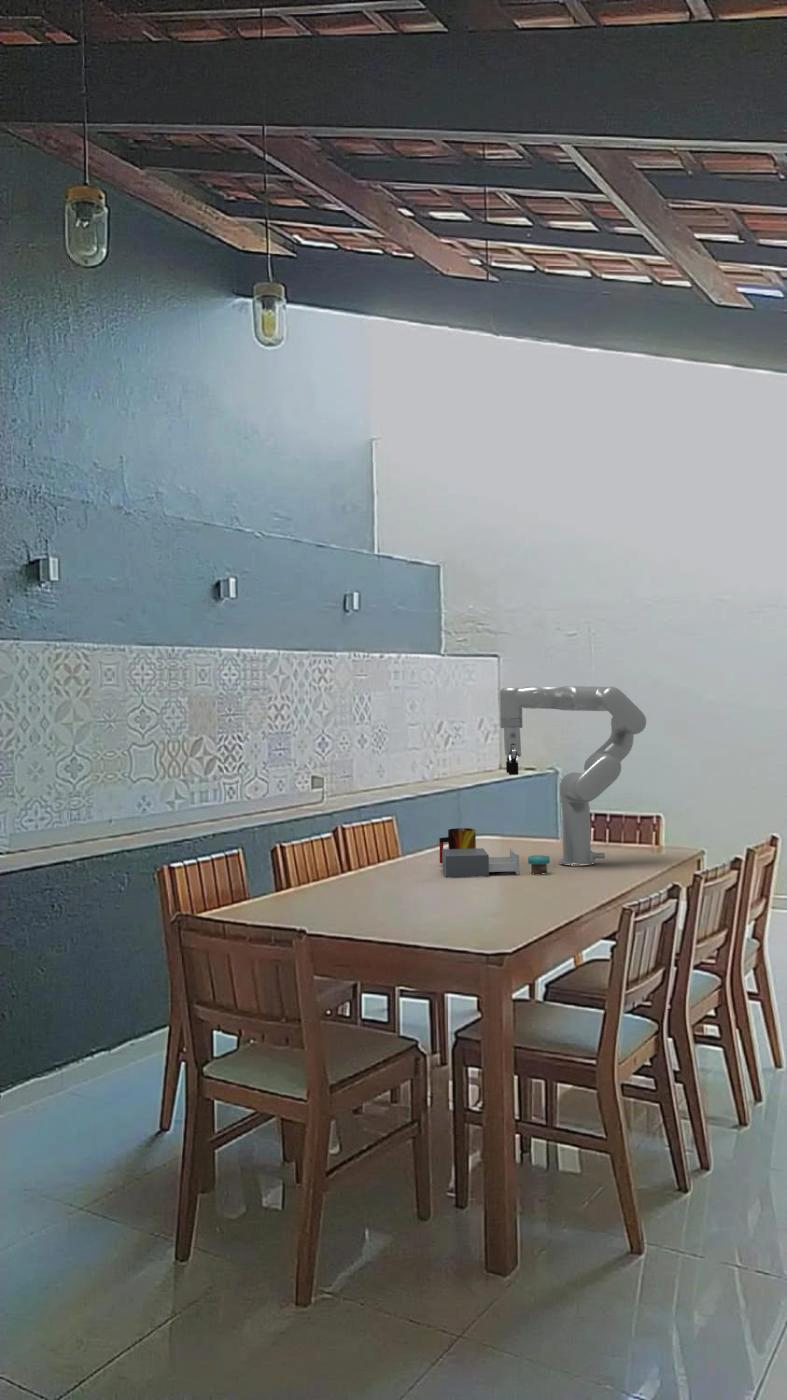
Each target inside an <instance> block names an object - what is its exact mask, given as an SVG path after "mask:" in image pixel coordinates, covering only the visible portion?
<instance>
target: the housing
mask: <svg viewBox="0 0 787 1400" xmlns="http://www.w3.org/2000/svg"><path fill="white" fill-rule="evenodd" d="M489 857H490V856H489V853H488V852H487V851H486V850H485V849H484V848H483V847H482V848H480V847H478V848H477V847H476V849H449V848H446V849H444V848H443V849H442V862H443V863H442V871H444V872H443V873H445V874H444V876H445V875H446V876H445V878H446V877H454V878H467V877H466V876H478V877H479V876H485V877H488V876H489V877H490V872H489ZM478 877H477V878H478ZM479 878H480V877H479Z"/></svg>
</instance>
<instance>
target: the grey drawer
mask: <svg viewBox="0 0 787 1400" xmlns="http://www.w3.org/2000/svg"><path fill="white" fill-rule="evenodd" d="M495 872H496V873H497V872H500V873H501V872H514V874H515V875H520V854H519V853H518V852H517V851H516V850H515V849H514V848H510V849H509V856H489V873H495Z"/></svg>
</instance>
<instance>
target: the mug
mask: <svg viewBox="0 0 787 1400" xmlns="http://www.w3.org/2000/svg"><path fill="white" fill-rule="evenodd" d="M476 836H477V835H476V829H475V828H469V827H466V828H464V827H458V828H450V829H449V828H448V830H447V836H446V837H439V838H438V839H439V864H443V862H442V849H444V843H448V848H447V849H476V848H477V847H476V846H477V845H476V843H477V841H476V840H477V839H476Z"/></svg>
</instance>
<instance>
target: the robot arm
mask: <svg viewBox="0 0 787 1400" xmlns="http://www.w3.org/2000/svg"><path fill="white" fill-rule="evenodd" d="M499 699H500V700H499V711H500V712H499V714H500V715H499V716H500V717H499V718H500V722H499V723H500V724H499V725H500V729H503V739H504V740H503V741H504V744H503V745H504V754H505V756H506V761H505V766H506V767H505V769H506V774H508V775H509V776H513V775H514V776H517V775H519V761H518V757H519V758H520V757H522V746H521V744H522V742H521V741H522V740H521V729H523V709H533V710H534V709H535V710H536V709H540V710H541V709H546V710H547V709H548V710H560V711H572V712H573V711H579V712H580V711H581V712H582V711H583V712H585V711H586V712H609V714H611V720H610V725H611V726H610V727H611V734H610V736H609V738H608V739H607V740H606V741H605V742H604V743H603V745H601V746H600V747H598V749H597V750H595V751H594V752H593V753H592V754H591V755H590V756H588V758H587V759H586V760H585V762H584V763H583V769H584V772H582V773H581V772H570V773H567V774H565V775H564V776H563V777H562V779H561V781H560V783H559V795H560V800H561V801H560V803H561V815H562V818H561V819H562V820H561V821H562V822H561V823H562V824H561V825H562V827H561V828H562V857H563V858H562V859H559V860H558V864H559V863H561V864H570V865H571V864H573V865H580V864H592V863H595V862H596V859H606V858H605V857H606V856H605V855H606V854H605V852H594V851H593V850H592V848H591V847H592V846H591V842H592V841H591V809H590V804H589V803H590V802H592V801H594V800H595V799H597V798H598V797H599V796H600V795H601V794H602V793H604V792H605V791H606V790H607V789H608V788H610V786H611V785H613V784H614V783H615V781H616V780H617V779H618V778H619V776H620V774H621V772H622V763H621V762H622V761H623V760H624V759H625V758H626V757H627V756H628V755H629V754H630V752H631V750H632V748H633V745H634V737H635V736H634V735H638V734H641V733H642V732H643V731H644V730H645V729H646V725H647V718H646V715H645V714H644V713H643V712H642V710H641V709H640V708H639V707H638V706H637V705H636V704H635V703H634V702H633V701H632V700H631V698H629V697H628V696H627V695H626V694H625V693H624V692H623V691H621V690H620V689H619V688H617V687H615V686H586V685H585V686H583V685H582V686H581V685H580V686H579V685H577V686H576V685H569V686H568V685H567V686H556V687H555V686H554V687H553V686H552V687H544V686H543V687H542V686H541V687H540V686H524V687H521V688H520V687H503V688H501V689H500V691H499Z"/></svg>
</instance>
